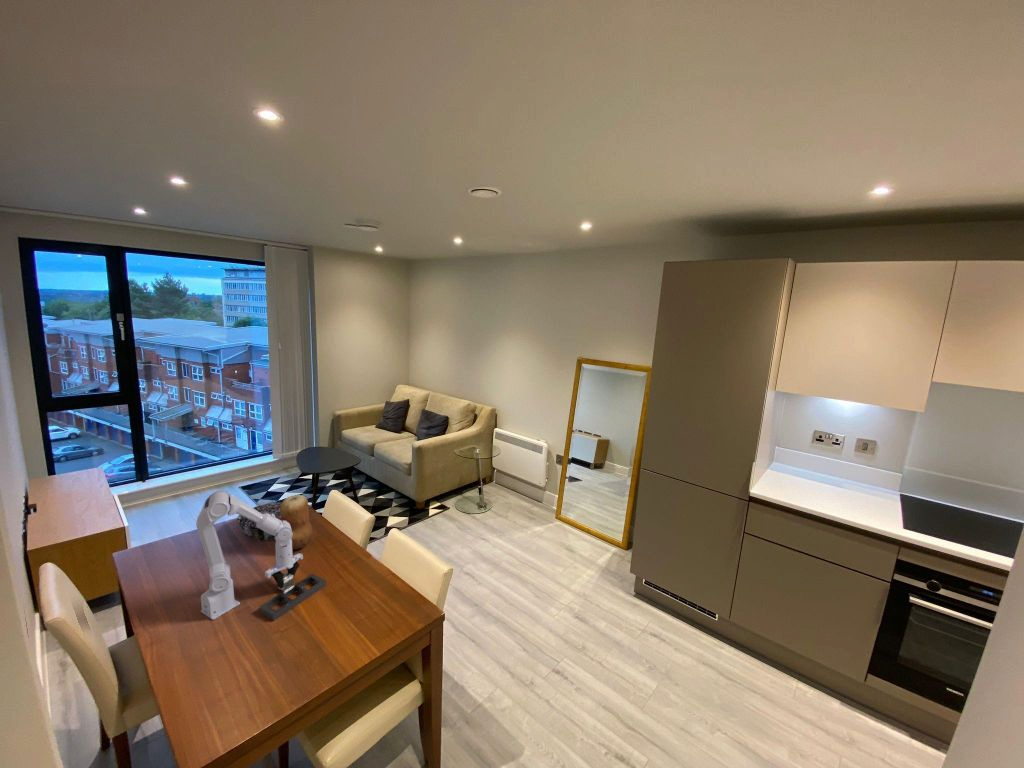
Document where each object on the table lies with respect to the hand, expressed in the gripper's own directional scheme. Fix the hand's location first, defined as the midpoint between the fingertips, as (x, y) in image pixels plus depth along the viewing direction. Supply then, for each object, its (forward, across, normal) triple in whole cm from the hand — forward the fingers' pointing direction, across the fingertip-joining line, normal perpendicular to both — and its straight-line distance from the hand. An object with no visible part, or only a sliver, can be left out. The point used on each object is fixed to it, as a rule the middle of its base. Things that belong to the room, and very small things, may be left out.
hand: (285, 583), depth 163 cm
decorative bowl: (+2, +23, +45) cm, 50 cm away
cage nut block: (+2, 0, 0) cm, 2 cm away
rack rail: (+2, -2, -8) cm, 8 cm away
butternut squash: (+2, +20, +21) cm, 29 cm away
